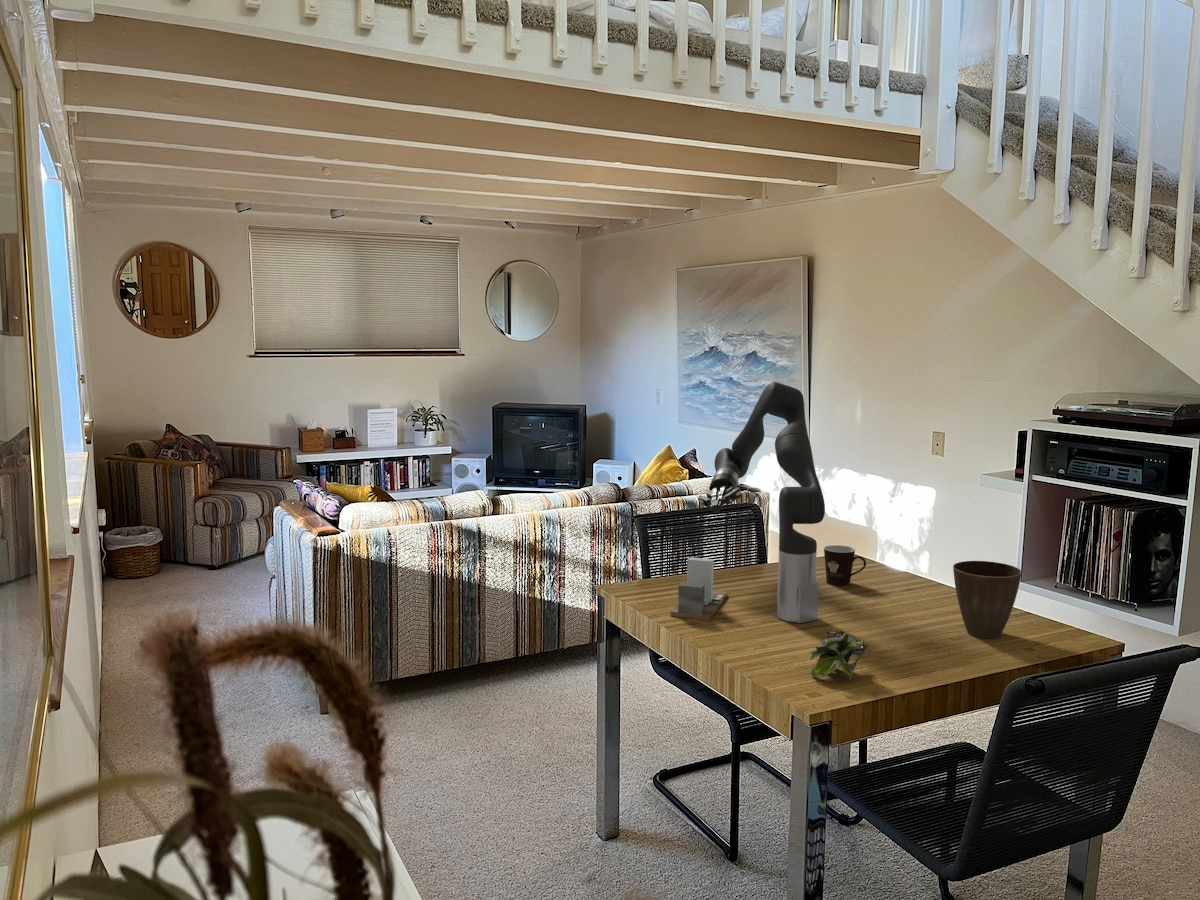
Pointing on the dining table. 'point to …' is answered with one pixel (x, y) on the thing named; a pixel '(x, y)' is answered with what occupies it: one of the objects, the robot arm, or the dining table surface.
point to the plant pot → (986, 595)
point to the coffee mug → (840, 564)
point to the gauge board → (706, 608)
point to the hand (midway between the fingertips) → (715, 509)
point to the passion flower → (837, 653)
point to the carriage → (702, 575)
